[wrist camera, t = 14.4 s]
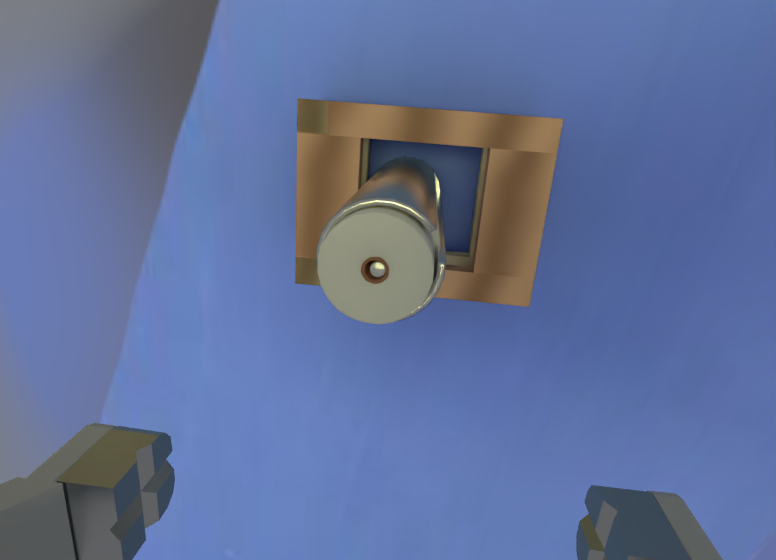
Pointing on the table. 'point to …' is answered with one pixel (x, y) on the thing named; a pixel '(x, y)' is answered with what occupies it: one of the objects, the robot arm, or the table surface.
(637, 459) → the table surface
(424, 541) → the table surface
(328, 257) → the silver metal cylinder
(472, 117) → the frame
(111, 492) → the robot arm
